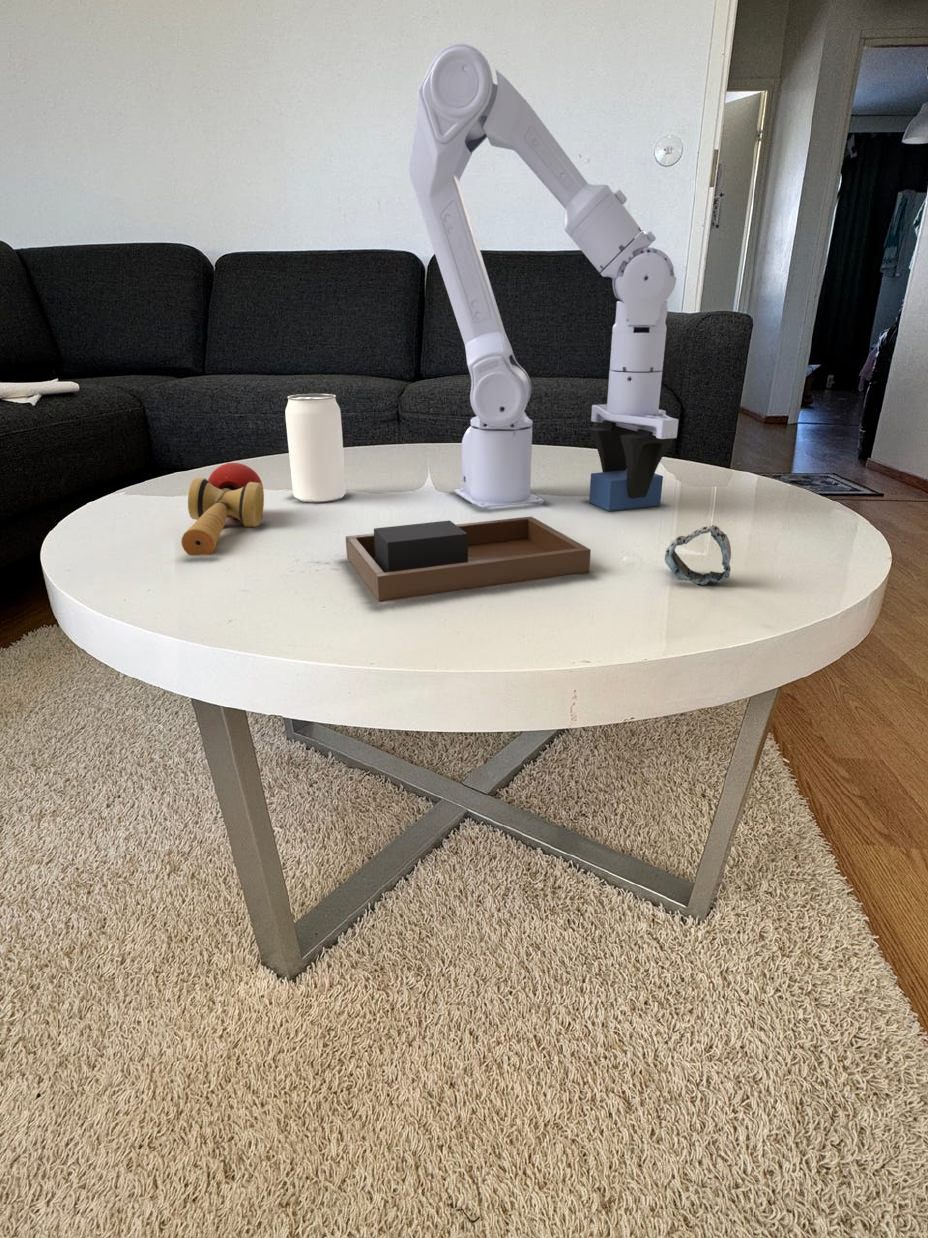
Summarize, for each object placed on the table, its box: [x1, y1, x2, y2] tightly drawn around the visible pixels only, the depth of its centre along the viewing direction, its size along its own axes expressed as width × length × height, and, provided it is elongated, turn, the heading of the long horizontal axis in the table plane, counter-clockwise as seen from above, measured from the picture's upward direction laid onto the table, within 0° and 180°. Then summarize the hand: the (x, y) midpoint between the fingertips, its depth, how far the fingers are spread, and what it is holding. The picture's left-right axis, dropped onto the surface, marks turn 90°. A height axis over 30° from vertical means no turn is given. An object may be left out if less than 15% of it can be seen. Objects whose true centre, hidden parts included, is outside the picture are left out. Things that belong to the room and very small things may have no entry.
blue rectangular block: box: [588, 470, 664, 512], centre depth 85 cm, size 4×7×4 cm, turn 111°
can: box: [284, 393, 347, 504], centre depth 87 cm, size 6×6×12 cm
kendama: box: [180, 462, 265, 556], centre depth 74 cm, size 8×6×18 cm
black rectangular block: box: [373, 520, 468, 573], centre depth 62 cm, size 4×7×4 cm, turn 111°
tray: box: [345, 516, 592, 603], centre depth 63 cm, size 12×19×2 cm, turn 111°
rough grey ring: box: [664, 524, 732, 586], centre depth 60 cm, size 3×5×5 cm
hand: (625, 492), depth 85 cm, fingers closed on blue rectangular block, 4 cm apart
